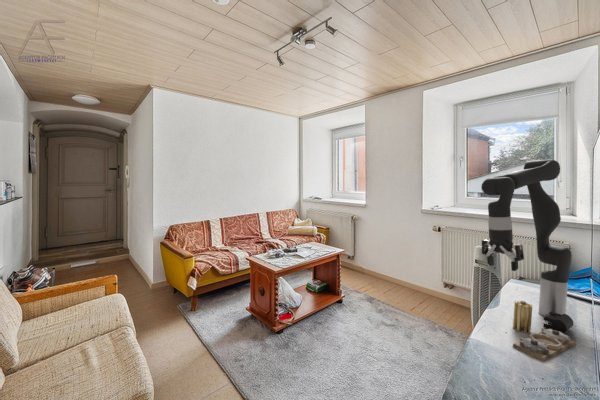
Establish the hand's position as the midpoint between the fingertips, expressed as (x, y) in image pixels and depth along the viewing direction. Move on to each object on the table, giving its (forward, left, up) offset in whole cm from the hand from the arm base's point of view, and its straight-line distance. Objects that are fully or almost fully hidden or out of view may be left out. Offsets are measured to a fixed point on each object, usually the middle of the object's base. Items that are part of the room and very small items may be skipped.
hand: (502, 267), depth 106 cm
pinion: (-14, +2, -27) cm, 31 cm away
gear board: (-8, +12, -27) cm, 31 cm away
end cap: (-27, +9, -28) cm, 40 cm away
